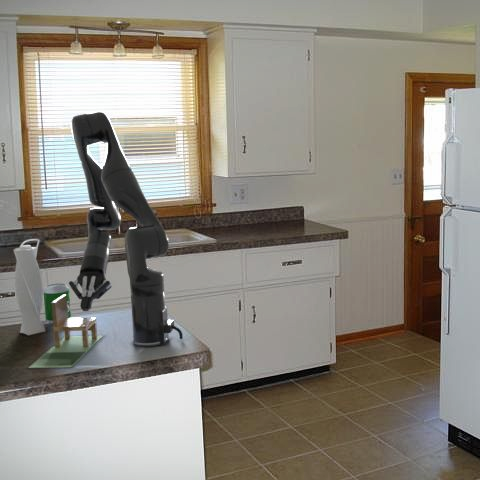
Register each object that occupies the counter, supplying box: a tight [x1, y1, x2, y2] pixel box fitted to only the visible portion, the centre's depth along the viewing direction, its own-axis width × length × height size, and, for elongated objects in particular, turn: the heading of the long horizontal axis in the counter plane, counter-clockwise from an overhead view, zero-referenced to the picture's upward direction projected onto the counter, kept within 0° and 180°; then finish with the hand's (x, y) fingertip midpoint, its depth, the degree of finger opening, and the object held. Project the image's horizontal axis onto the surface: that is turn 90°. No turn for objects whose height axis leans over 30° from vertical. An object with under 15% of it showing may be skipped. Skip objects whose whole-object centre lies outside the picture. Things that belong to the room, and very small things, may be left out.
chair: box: [52, 295, 98, 348], centre depth 205 cm, size 9×9×13 cm
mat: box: [28, 334, 104, 369], centre depth 200 cm, size 11×28×1 cm, turn 0°
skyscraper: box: [13, 238, 46, 336], centre depth 216 cm, size 8×8×28 cm
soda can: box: [43, 282, 72, 326], centre depth 227 cm, size 8×8×12 cm
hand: (85, 309), depth 214 cm, fingers closed
